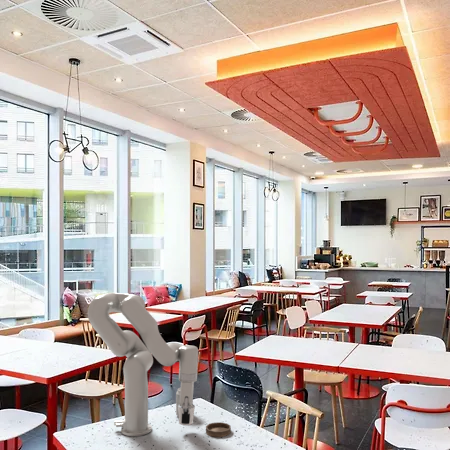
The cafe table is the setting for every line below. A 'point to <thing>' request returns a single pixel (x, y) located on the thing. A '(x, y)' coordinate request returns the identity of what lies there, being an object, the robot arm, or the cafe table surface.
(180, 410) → the white tapered cylinder
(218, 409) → the cafe table surface
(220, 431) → the round bowl
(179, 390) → the can
